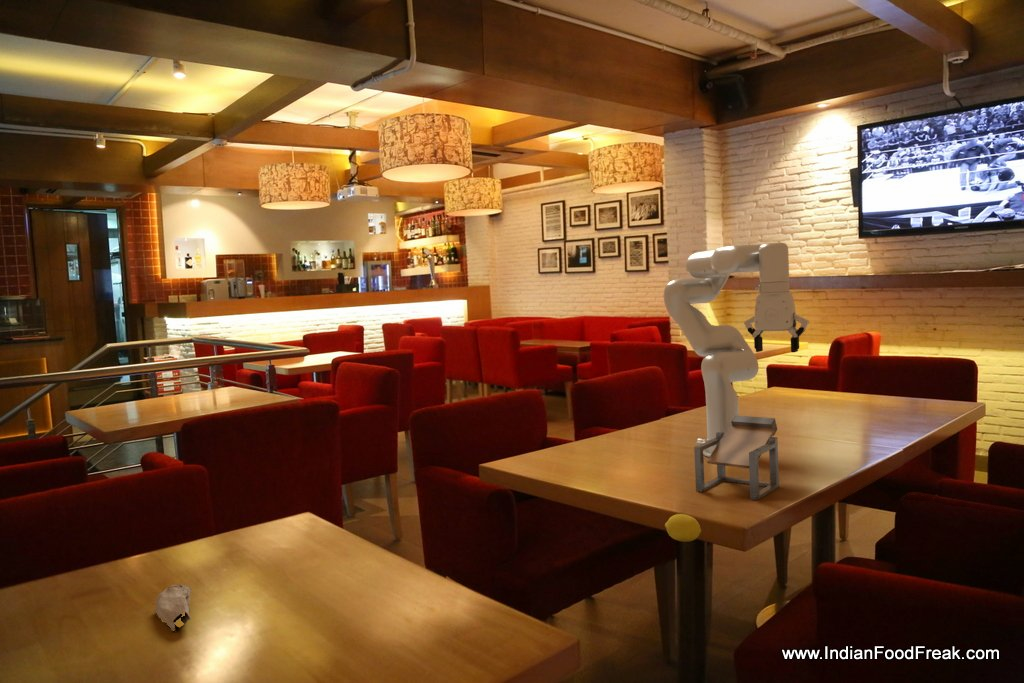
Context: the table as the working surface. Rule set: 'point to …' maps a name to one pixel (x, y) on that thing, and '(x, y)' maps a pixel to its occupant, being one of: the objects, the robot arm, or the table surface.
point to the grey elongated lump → (173, 604)
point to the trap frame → (753, 468)
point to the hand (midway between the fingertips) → (776, 351)
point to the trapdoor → (742, 440)
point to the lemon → (683, 527)
